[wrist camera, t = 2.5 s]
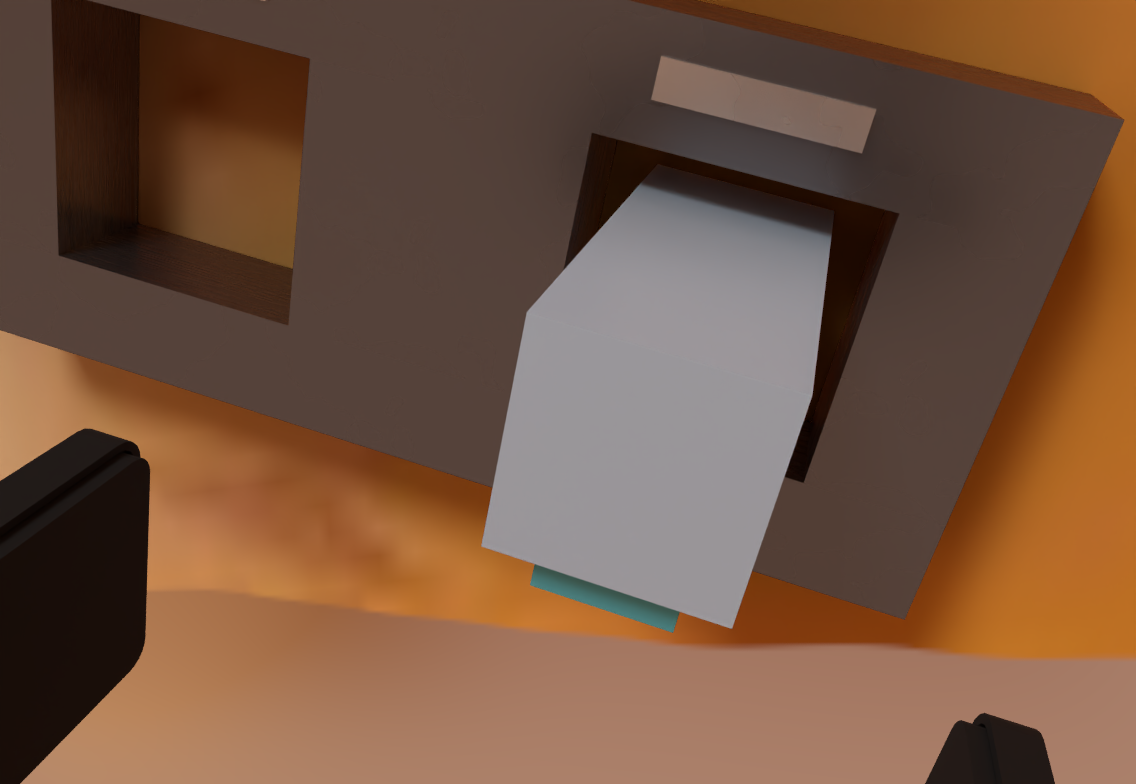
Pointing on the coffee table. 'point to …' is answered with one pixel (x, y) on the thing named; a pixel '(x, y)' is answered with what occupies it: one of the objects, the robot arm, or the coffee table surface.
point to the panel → (553, 228)
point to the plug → (663, 399)
